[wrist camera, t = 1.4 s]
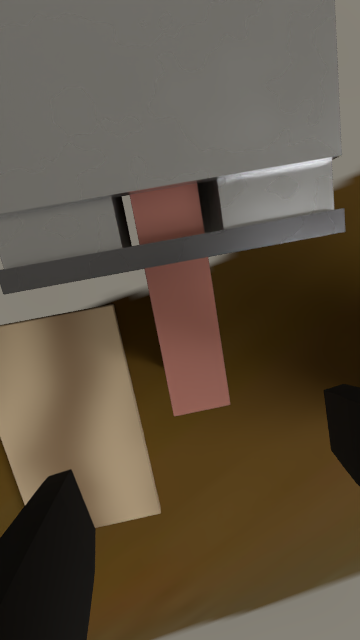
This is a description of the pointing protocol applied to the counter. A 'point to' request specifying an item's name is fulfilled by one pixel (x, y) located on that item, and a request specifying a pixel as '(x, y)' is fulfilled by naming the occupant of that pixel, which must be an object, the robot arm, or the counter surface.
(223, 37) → the dispenser
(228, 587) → the counter surface
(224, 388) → the pink rectangular block
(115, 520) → the tan flat rectangular panel
